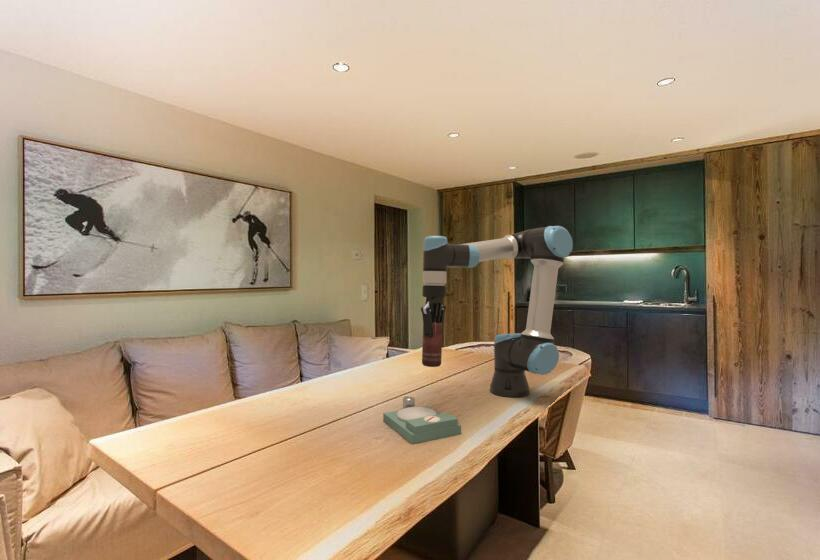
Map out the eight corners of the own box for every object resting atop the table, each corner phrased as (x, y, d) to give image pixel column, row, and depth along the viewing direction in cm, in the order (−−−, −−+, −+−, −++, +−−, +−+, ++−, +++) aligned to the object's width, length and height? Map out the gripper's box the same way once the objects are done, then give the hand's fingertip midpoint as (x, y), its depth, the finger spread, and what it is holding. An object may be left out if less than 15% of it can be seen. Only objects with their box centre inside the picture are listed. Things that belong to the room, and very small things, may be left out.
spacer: (411, 407, 141) (411, 395, 141) (416, 410, 138) (416, 399, 138) (401, 409, 140) (401, 397, 140) (406, 412, 136) (406, 400, 136)
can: (426, 367, 125) (428, 322, 125) (419, 363, 131) (420, 320, 131) (444, 366, 127) (446, 322, 127) (436, 362, 133) (437, 320, 133)
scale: (427, 413, 135) (427, 398, 135) (461, 433, 117) (461, 416, 117) (383, 420, 128) (383, 405, 128) (412, 444, 110) (412, 426, 110)
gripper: (433, 284, 137) (432, 354, 136) (413, 284, 125) (412, 360, 125) (453, 285, 133) (452, 357, 133) (435, 285, 121) (433, 363, 121)
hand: (432, 358), depth 129 cm, fingers closed
